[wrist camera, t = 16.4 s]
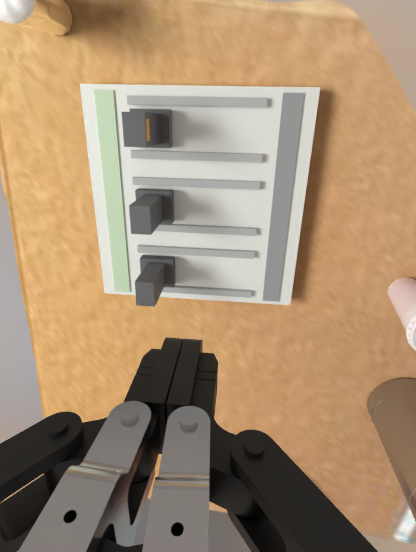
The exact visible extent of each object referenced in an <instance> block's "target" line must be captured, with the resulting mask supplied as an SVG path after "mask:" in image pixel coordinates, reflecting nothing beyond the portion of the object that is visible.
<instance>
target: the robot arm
mask: <svg viewBox="0 0 416 552" xmlns="http://www.w3.org/2000/svg"><path fill="white" fill-rule="evenodd" d="M217 374H218V361H217V359H216V357H215V355H214V354H213V353H202V340H194V339H179V338H165V340H164V343H163V346H162V348H161V350H160V349H151V350H150V351H149V352H148V353H147V354H146V355H144V356H143V358H142V361H141V363H140V365H139V368H138V370H137V372H136V375H135V377H134V379H133V382H132V384H131V386H130V389H129V391H128V393H127V396H126V398H125V400H124V403H121V404H119V405H118V406H116V407H115V408H114V409H113V410H112V411H111V412H110V414H109V415H108V417H107V418H104V419H100V420H95V421H89V422H84V423H82V421H81V418H80V417H79V416H78V415H77V414H75V413H73V412H59V413H56V414H53V415H51V416H49V417H47V418H45V419H44V420H42V421H40V422H38V423H36V424H35V425H33V426H31V427H29V428H28V429H26V430H24V431H22V432H20V433H19V434H17V435H15V436H13V437H12V438H10V439H8V440H6V441H4V442H3V443H1V444H0V552H17V551H18V550H19V551H18V552H208V539H209V538H208V537H209V501H210V502H212V503H214V504H216V505H218V506H221V507H223V508H225V509H227V512H228V515H229V517H230V519H231V521H232V522H233V524H234V525H235V527H236V528H237V530H238V531H239V533H240V535H241V536H242V538H243V539H244V541H245V542H246V544H247V545H248V547H249V548H250V550H251V552H377V550H376V549H375V548H374V547H373V546H372V545H371V544H370V543H369V542H368V541H367V540H366V538H365V537H363V535H362V534H361V533H360V532H359V531H358V530H357V529H356V528H355V527H354V526H353V525H352V524H351V523H350V521H349V520H348V519H347V518H346V517H345V516H344V515H343V514H342V513H341V512H340V511H339V510H338V509H337V508H336V507H335V505H334V504H333V503H332V502H331V501H330V500H329V499H328V498H327V497H326V496H325V495H324V494H323V493H322V492H321V491H320V490H319V488H318V487H317V486H316V485H315V484H314V483H313V482H312V481H311V480H310V479H309V478H308V477H307V476H306V475H305V474H304V472H303V471H302V470H301V469H300V468H299V467H298V466H297V465H296V464H295V463H294V462H293V461H292V460H291V459H290V458H289V457H288V455H287V454H286V453H285V452H284V451H283V450H282V449H281V448H280V447H279V446H278V445H277V444H276V443H275V442H274V441H273V439H272V438H270V437H269V436H268V435H267V434H265V433H263V432H261V431H257V430H245V431H242V432H240V433H238V434H237V435H234V434H232V433H229V432H227V431H225V430H224V429H222V428H221V427H220V426H219V425H218V424H217V423H216V421H215V420H214V414H215V404H216V394H217ZM367 406H368V411H369V413H370V416H371V419H372V421H373V423H374V425H375V428H376V430H377V432H378V435H379V437H380V439H381V442H382V444H383V446H384V449H385V451H386V453H387V456H388V458H389V460H390V463H391V465H392V467H393V470H394V472H395V474H396V477H397V479H398V481H399V484H400V486H401V488H402V491H403V493H404V495H405V498H406V500H407V502H408V505H409V507H410V509H411V511H412V514H413V516H414V518H415V521H416V380H415V379H408V378H403V379H395V380H391V381H388V382H386V383H384V384H382V385H380V386H379V387H378V388H376V389H375V390H374V391H373V392H372V394H371V395H370V397H369V399H368V404H367ZM158 454H162V457H161V463H160V469H159V475H158V477H156V478H155V481H154V485H153V491H152V497H151V503H150V508H149V514H148V521H147V526H146V532H145V538H144V544H141V545H136V546H133V542H134V536H135V533H136V529H137V526H138V523H139V520H140V517H141V514H142V511H143V508H144V505H145V502H146V499H147V496H148V493H149V490H150V487H151V484H152V481H153V478H154V475H155V465H156V461H157V457H158ZM43 473H44V475H43V476H41V477H40V478H38V479H37V480H35V481H34V482H32V483H31V484H29V485H28V486H26V487H25V488H23V489H22V490H20V491H19V492H17V493H16V494H14V495H13V496H12V497H10V498H8V499H7V500H5V501H4V502H2V501H3V500H4V499H5V498H7V497H8V496H10V495H11V494H13V493H14V492H16V491H17V490H19V489H20V488H22V487H23V486H25V485H26V484H28V483H29V482H31V481H32V480H34V479H35V478H37V477H38V476H40V475H41V474H43ZM1 502H2V503H1Z"/></svg>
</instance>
